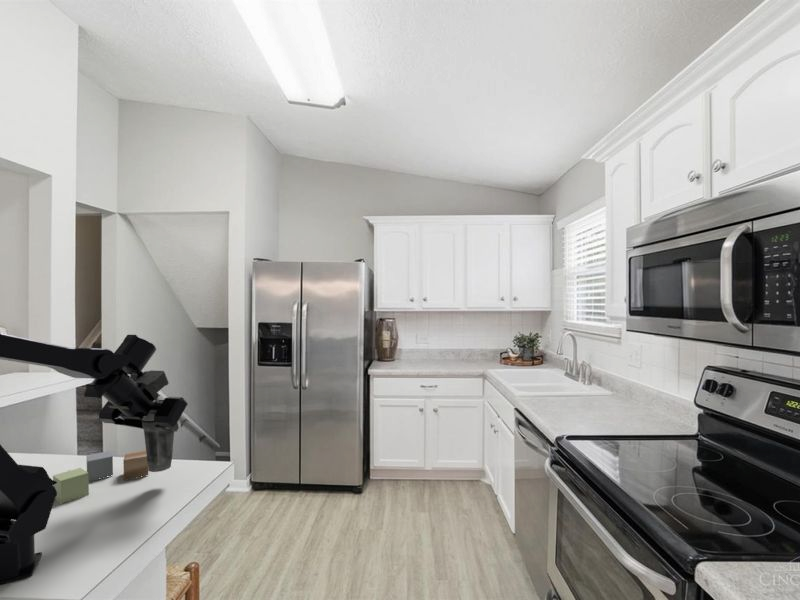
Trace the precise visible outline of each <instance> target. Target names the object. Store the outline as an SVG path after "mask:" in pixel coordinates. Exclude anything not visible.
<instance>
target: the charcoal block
mask: <svg viewBox="0 0 800 600" xmlns="http://www.w3.org/2000/svg"><path fill="white" fill-rule="evenodd" d="M113 462H114V459H113V453H112V450H107V451H102V452H97V453H92V454H88V455H86V472H88V477H89V481H90V482H93V480H94V481H97V480H96V479H98V480H100V479H99V478H103V477H107V476H111V475H113V476H114V468H113V467H114V463H113ZM111 477H112V476H111ZM107 478H108V477H107ZM103 479H104V478H103Z"/></svg>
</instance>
